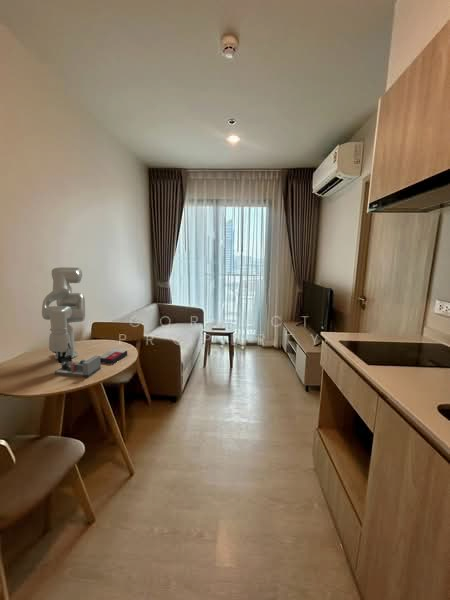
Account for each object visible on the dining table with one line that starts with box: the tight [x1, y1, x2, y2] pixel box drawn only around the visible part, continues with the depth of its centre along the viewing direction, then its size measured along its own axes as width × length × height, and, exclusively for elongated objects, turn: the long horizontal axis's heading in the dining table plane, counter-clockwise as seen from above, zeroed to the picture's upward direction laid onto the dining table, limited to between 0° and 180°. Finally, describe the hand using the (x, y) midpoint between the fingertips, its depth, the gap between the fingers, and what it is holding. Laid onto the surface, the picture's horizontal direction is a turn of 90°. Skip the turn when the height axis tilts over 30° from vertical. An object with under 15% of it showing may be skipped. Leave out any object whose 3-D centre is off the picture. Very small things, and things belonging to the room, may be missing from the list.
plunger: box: [59, 355, 81, 369], centre depth 144 cm, size 8×8×6 cm
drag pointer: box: [71, 363, 75, 372], centre depth 140 cm, size 1×2×5 cm, turn 172°
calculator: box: [99, 348, 128, 365], centre depth 164 cm, size 11×4×15 cm
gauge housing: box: [54, 355, 102, 378], centre depth 145 cm, size 20×11×8 cm, turn 82°
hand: (61, 362), depth 146 cm, fingers closed
